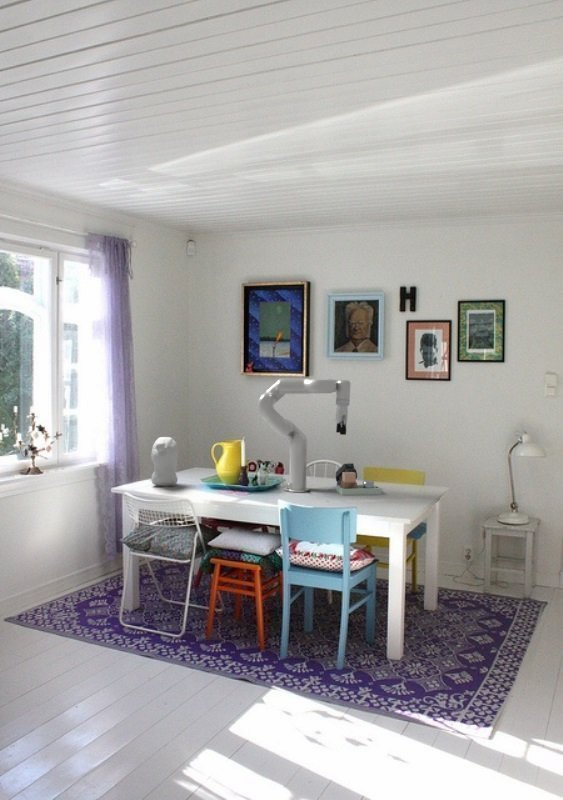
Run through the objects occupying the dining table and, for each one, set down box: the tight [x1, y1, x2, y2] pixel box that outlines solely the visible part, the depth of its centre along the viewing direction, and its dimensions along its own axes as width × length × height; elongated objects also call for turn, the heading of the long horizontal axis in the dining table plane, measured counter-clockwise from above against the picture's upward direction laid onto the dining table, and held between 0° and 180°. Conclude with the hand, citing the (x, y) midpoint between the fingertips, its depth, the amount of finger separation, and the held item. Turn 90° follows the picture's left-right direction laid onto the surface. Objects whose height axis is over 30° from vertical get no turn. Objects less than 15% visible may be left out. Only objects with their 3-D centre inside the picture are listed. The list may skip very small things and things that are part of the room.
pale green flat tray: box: [335, 484, 382, 496], centre depth 406 cm, size 22×12×4 cm, turn 100°
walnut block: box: [341, 481, 358, 489], centre depth 405 cm, size 7×7×6 cm
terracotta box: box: [342, 472, 357, 483], centre depth 404 cm, size 6×5×5 cm
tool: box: [334, 462, 358, 485], centre depth 424 cm, size 6×19×15 cm, turn 22°
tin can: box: [362, 480, 375, 488], centre depth 407 cm, size 6×6×6 cm
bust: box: [150, 436, 179, 487], centre depth 420 cm, size 15×26×28 cm, turn 177°
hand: (341, 433), depth 411 cm, fingers open, 9 cm apart
